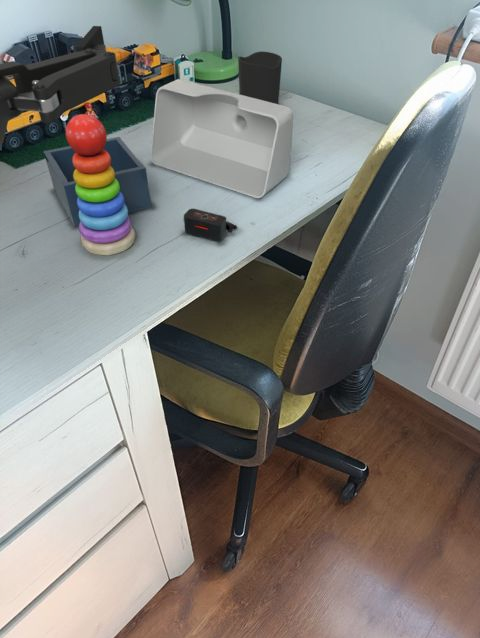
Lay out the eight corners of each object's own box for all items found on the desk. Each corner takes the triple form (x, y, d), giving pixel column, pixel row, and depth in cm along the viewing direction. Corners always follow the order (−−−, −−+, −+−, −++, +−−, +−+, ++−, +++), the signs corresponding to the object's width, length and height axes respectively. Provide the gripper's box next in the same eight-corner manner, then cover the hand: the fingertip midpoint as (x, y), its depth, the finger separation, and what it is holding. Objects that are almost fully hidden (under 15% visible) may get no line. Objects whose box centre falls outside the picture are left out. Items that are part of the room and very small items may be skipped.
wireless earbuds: (225, 245, 79) (224, 227, 76) (183, 234, 80) (181, 216, 78) (237, 230, 82) (237, 212, 79) (197, 220, 83) (196, 202, 81)
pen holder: (280, 115, 114) (282, 65, 107) (238, 114, 114) (237, 64, 107) (278, 99, 121) (281, 51, 114) (238, 98, 120) (238, 50, 113)
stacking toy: (146, 244, 78) (126, 118, 65) (100, 264, 74) (68, 136, 61) (118, 222, 82) (93, 100, 69) (72, 241, 78) (37, 115, 65)
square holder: (54, 190, 89) (43, 151, 84) (126, 174, 93) (119, 136, 88) (74, 227, 81) (63, 185, 76) (151, 207, 86) (146, 167, 81)
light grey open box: (306, 164, 98) (312, 95, 89) (263, 200, 88) (265, 127, 79) (199, 133, 106) (195, 67, 98) (149, 162, 97) (140, 92, 88)
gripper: (-219, 177, 38) (-82, 77, 53) (121, 187, 38) (162, 84, 53) (-296, 65, 32) (-119, -12, 47) (101, 78, 33) (153, -2, 47)
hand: (30, 39), depth 50 cm, fingers open, 13 cm apart
